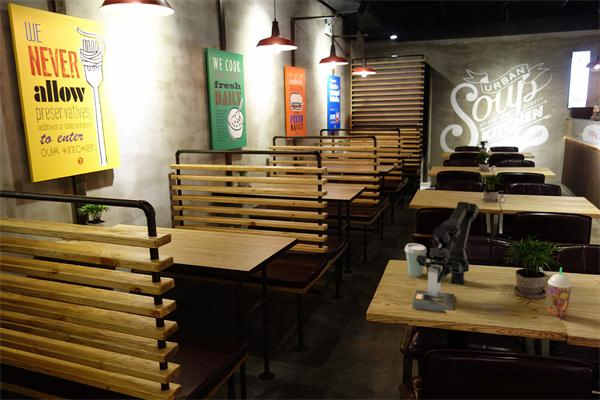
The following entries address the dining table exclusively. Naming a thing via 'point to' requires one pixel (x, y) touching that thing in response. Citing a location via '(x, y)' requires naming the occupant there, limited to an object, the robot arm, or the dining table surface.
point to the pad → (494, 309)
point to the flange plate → (432, 301)
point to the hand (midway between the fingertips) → (433, 281)
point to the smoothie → (558, 294)
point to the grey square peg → (434, 280)
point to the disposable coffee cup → (414, 258)
